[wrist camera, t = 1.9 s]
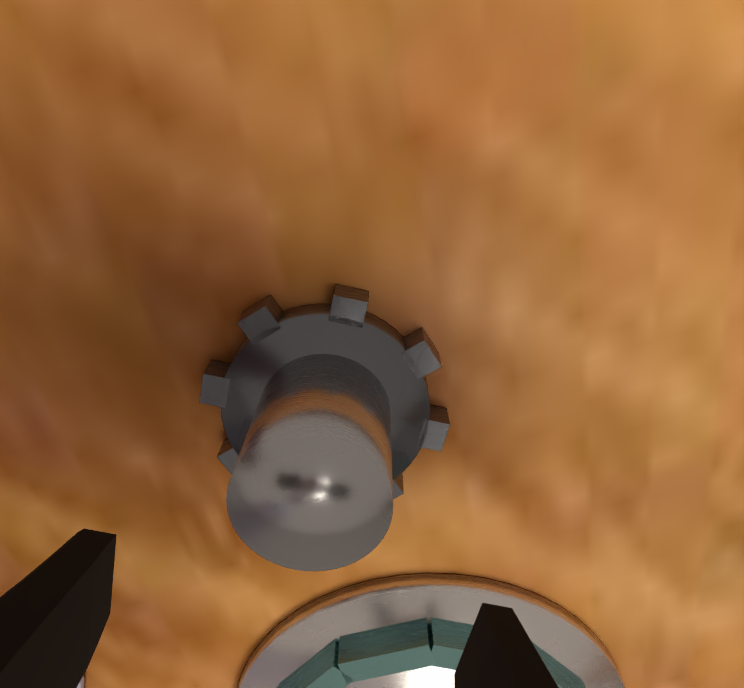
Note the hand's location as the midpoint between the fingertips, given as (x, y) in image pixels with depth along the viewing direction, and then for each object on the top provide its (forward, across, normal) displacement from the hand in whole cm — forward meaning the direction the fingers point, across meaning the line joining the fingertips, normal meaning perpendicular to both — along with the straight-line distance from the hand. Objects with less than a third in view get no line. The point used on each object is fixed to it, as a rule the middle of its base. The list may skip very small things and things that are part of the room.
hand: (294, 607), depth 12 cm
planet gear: (+9, 0, 0) cm, 9 cm away
